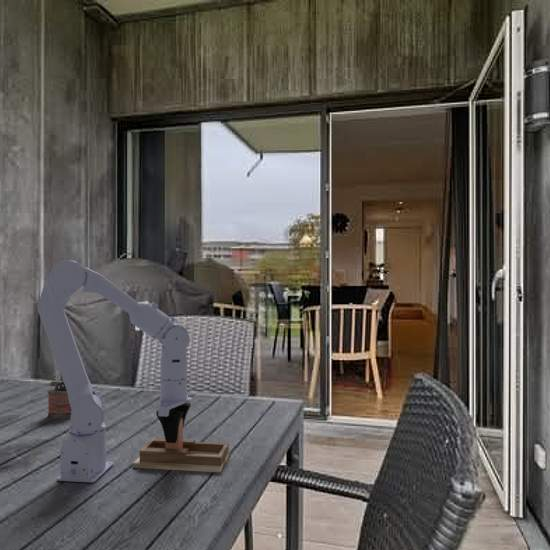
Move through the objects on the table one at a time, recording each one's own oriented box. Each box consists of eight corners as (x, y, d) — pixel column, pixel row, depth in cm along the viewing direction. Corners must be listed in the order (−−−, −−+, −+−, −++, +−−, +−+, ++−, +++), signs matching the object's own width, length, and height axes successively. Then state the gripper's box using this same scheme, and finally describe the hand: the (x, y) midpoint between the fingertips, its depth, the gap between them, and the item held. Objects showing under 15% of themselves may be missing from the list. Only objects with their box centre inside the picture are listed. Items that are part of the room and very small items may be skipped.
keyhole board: (220, 472, 107) (220, 456, 107) (132, 467, 109) (132, 451, 109) (230, 454, 117) (230, 439, 117) (149, 450, 119) (149, 435, 119)
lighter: (79, 414, 147) (79, 379, 146) (75, 417, 143) (74, 382, 143) (50, 414, 147) (50, 379, 146) (45, 418, 143) (45, 382, 143)
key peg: (181, 460, 111) (181, 423, 110) (159, 459, 111) (159, 423, 111) (188, 452, 116) (188, 416, 115) (167, 451, 116) (166, 415, 116)
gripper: (181, 386, 105) (181, 452, 106) (200, 371, 120) (200, 429, 120) (148, 385, 106) (148, 450, 106) (171, 370, 120) (170, 428, 121)
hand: (173, 439), depth 113 cm, fingers closed on key peg, 3 cm apart
